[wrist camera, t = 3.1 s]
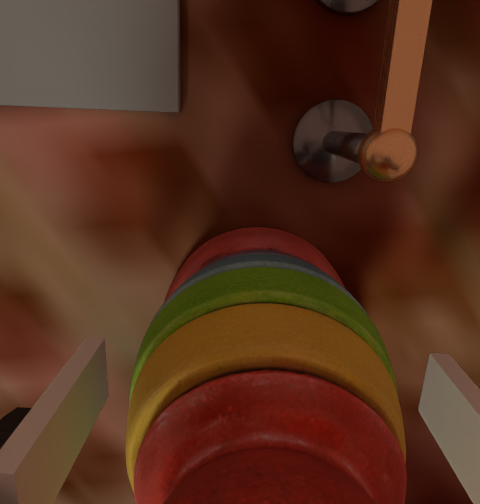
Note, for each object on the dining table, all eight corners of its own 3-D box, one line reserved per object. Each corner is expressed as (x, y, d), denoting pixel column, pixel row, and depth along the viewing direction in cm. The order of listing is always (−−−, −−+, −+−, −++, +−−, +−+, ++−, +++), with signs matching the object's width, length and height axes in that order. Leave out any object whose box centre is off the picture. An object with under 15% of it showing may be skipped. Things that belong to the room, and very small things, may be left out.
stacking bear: (164, 396, 23) (-55, 1138, 6) (145, 224, 20) (-383, 765, 3) (353, 392, 23) (659, 1149, 6) (363, 218, 20) (1049, 763, 3)
